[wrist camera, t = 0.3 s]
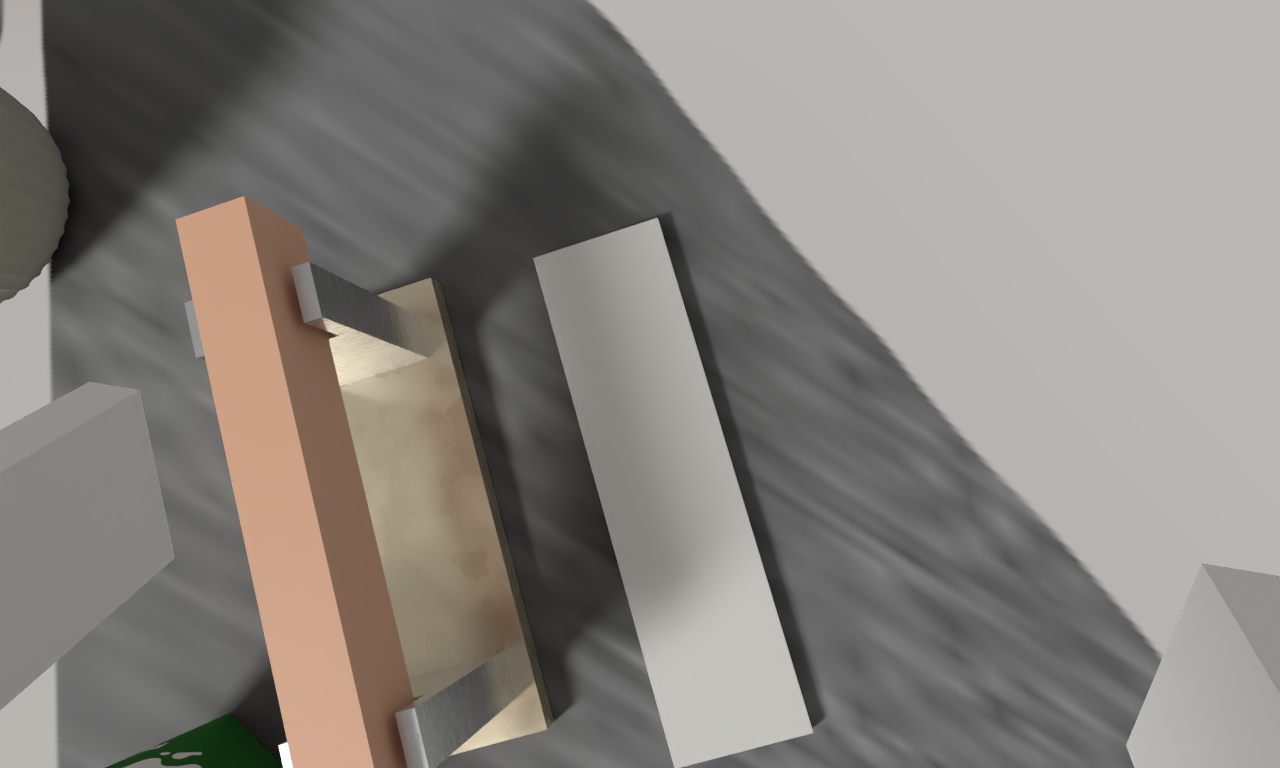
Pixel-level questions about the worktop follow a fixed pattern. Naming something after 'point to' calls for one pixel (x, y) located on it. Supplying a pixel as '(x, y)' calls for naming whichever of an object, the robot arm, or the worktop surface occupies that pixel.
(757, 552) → the mat
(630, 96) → the worktop surface
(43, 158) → the canister
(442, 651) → the hook stand
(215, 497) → the worktop surface
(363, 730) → the rail
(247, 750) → the milk carton
